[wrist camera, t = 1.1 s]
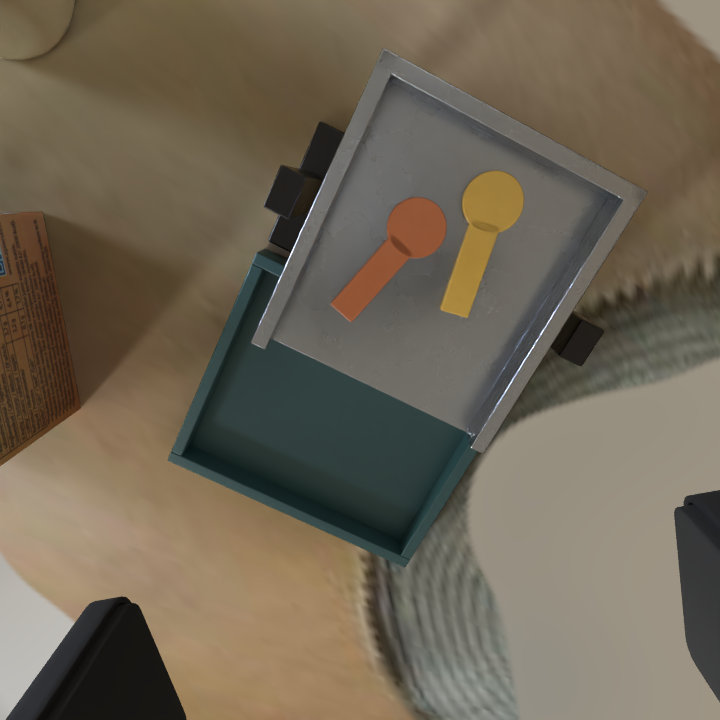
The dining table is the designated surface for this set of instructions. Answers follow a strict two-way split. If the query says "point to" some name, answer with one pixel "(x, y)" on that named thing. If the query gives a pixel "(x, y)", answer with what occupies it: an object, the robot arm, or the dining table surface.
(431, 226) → the copper key
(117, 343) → the dining table surface
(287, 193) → the dish cradle
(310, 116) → the dining table surface
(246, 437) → the tray
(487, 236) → the brass key
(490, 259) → the key dish
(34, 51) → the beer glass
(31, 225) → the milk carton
